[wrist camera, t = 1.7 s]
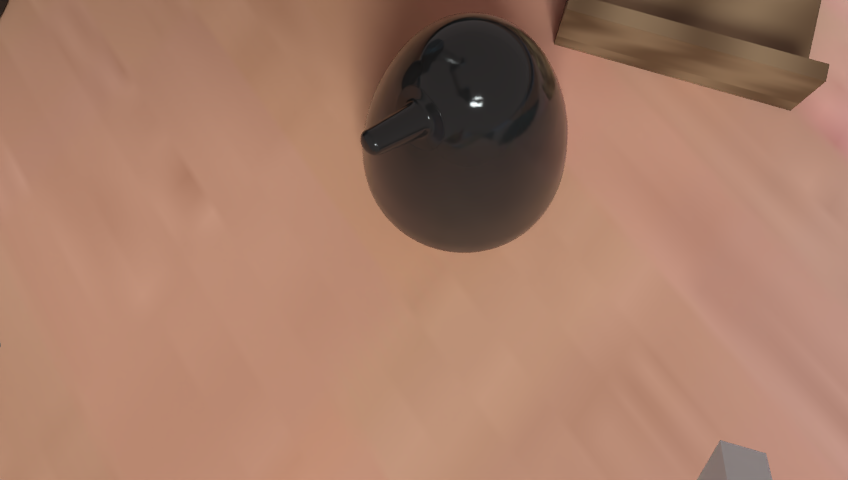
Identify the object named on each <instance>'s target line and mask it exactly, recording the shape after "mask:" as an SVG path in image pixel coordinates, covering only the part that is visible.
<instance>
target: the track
mask: <svg viewBox="0 0 848 480" xmlns="http://www.w3.org/2000/svg"><path fill="white" fill-rule="evenodd" d="M820 4H821V0H567V2H566V5H565V9H564V12H563V15H562V19H561V22H560V25H559V29H558V32H557V36H556V39H555V42H554V44H556V45H559V46H563V47H566V48H570V49H573V50H577V51H581V52H584V53H588V54H591V55H595V56H598V57H602V58H605V59H609V60H613V61H616V62H620V63H623V64H627V65H630V66H634V67H637V68H641V69H644V70H648V71H652V72H655V73H659V74H662V75H666V76H669V77H673V78H676V79H680V80H684V81H687V82H691V83H694V84H698V85H701V86H705V87H708V88H712V89H716V90H719V91H723V92H726V93H730V94H733V95H737V96H740V97H744V98H747V99H751V100H755V101H758V102H762V103H765V104H769V105H772V106H776V107H779V108H783V109H787V110H790V111H791V110H792V109H793V108H794V107H795V106H797V105H798V104H799V103H800V102H801V101H803V100H804V99H805V98H806V97H807V96H809V95H810V94H811V93H812V92H813V91H815V90H816V89H817V88H818V87H820V86H821V85H822V84H823V83H824V82H826V78H827V73H828V69H829V64H827V63H823V62H819V61H816V60H812V59H809V54H810V50H811V45H812V40H813V36H814V31H815V27H816V22H817V17H818V13H819V8H820Z"/></svg>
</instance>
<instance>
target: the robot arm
mask: <svg viewBox="0 0 848 480" xmlns="http://www.w3.org/2000/svg"><path fill="white" fill-rule="evenodd" d="M7 1H8V0H0V16H1V14H2V12H3V10H4V8H5V6H6V3H7ZM0 346H1V345H0ZM697 480H772V476H771V472H770V468H769V464H768V460H767V456H766V453H763V452H759V451H756V450H752V449H749V448H746V447H742V446H739V445H735V444H732V443H728V442H725V441H721V440H720V441H719V443H718V445H717V447H716V448H715V450H714V452H713V453H712V455H711V457H710V459H709V460H708V462H707V464H706V465H705V467H704V469H703V470H702V472H701V474H700V476H699V477H698V479H697Z"/></svg>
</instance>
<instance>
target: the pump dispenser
mask: <svg viewBox="0 0 848 480" xmlns="http://www.w3.org/2000/svg"><path fill="white" fill-rule="evenodd" d="M567 139H568V125H567V114H566V107H565V102H564V98H563V94H562V90H561V87H560V84H559V82H558V79H557V77H556V74H555V72H554V70H553V68H552V66H551V64H550V62H549V61H548V59H547V57H546V56H545V54H544V53H543V52H542V50H541V49H540V47H539V46H538V45H537V44H536V43H535V41H534V40H533V39H532V38H531V37H530V36H529V35H528V34H527V33H525V32H524V31H523V30H522V29H520V28H519V27H518V26H516V25H515V24H513V23H511V22H509V21H508V20H505V19H503V18H501V17H498V16H495V15H491V14H487V13H480V12H466V13H459V14H454V15H451V16H447V17H444V18H442V19H440V20H437V21H435V22H433V23H432V24H430V25H428V26H427V27H425V28H424V29H422V30H421V31H420V32H418V33H417V34H416V35H415V36H414V37H412V38H411V39H410V40H409V41H408V42H407V43H406V44H405V45H404V46H403V48H402V49H401V50H400V51H399V53H398V54H397V55H396V56H395V58H394V59H393V61H392V62H391V64H390V65H389V67H388V68H387V70H386V72H385V73H384V75H383V77H382V79H381V80H380V82H379V84H378V86H377V88H376V91H375V93H374V95H373V98H372V101H371V104H370V107H369V110H368V114H367V119H366V124H365V129H364V131H363V132H362V134H361V144H362V147H363V164H364V170H365V175H366V179H367V182H368V185H369V188H370V191H371V193H372V195H373V197H374V199H375V201H376V203H377V205H378V206H379V208H380V209H381V211H382V212H383V213H384V215H385V216H386V217H387V218H388V219H389V221H390V222H391V223H392V224H393V225H394V226H395V227H397V228H398V229H399V230H400V231H402V232H403V233H404V234H406V235H407V236H409V237H410V238H412V239H414V240H415V241H417V242H419V243H422V244H424V245H426V246H429V247H432V248H435V249H439V250H443V251H448V252H458V253H471V252H480V251H485V250H490V249H493V248H497V247H499V246H502V245H504V244H507V243H509V242H511V241H513V240H514V239H516V238H518V237H519V236H521V235H522V234H524V233H525V232H526V231H528V230H529V229H530V228H531V227H532V226H533V225H534V224H535V223H536V222H537V221H538V220H539V219H540V218H541V217H542V215H543V214H544V213H545V211H546V210H547V208H548V207H549V205H550V204H551V202H552V200H553V198H554V196H555V194H556V192H557V190H558V187H559V185H560V182H561V179H562V175H563V171H564V166H565V160H566V152H567Z"/></svg>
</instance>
